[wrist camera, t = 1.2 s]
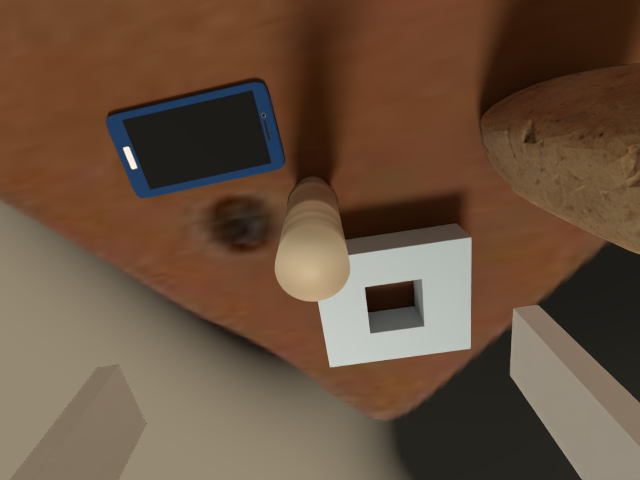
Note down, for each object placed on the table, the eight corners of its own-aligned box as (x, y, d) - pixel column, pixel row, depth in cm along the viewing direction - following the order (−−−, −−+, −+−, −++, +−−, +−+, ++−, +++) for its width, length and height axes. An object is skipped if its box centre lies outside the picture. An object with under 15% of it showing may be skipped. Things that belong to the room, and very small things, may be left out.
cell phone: (106, 116, 31) (101, 116, 30) (266, 78, 30) (264, 78, 29) (140, 198, 33) (136, 200, 33) (287, 166, 33) (287, 168, 32)
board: (310, 244, 35) (310, 260, 32) (456, 223, 34) (471, 237, 31) (328, 344, 40) (330, 367, 36) (457, 327, 39) (470, 348, 36)
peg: (286, 174, 32) (265, 239, 19) (332, 167, 32) (346, 226, 18) (294, 218, 34) (281, 307, 20) (338, 211, 34) (355, 296, 20)
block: (486, 189, 33) (703, 314, 15) (464, 110, 31) (694, 143, 12) (608, 137, 32) (1019, 207, 13) (595, 50, 29) (1089, -18, 11)
